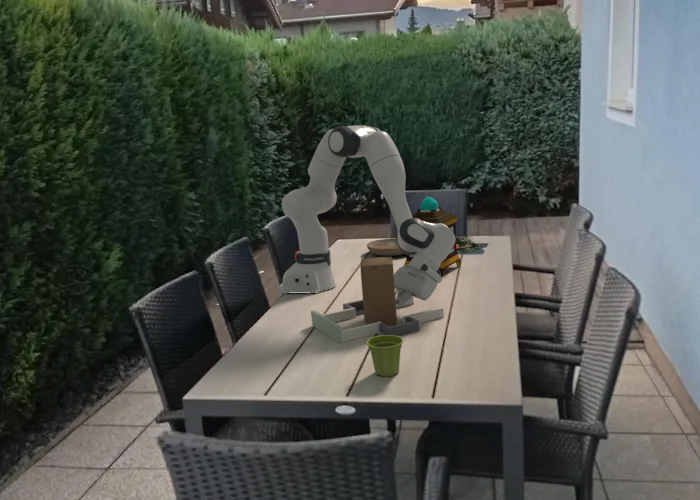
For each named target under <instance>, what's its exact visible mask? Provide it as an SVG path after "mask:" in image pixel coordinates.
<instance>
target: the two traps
mask: <svg viewBox="0 0 700 500" xmlns="http://www.w3.org/2000/svg"><path fill="white" fill-rule="evenodd" d="M342 308H343V309H342V310H345V309H350V308H356V317H358V316H361V315H364V308H363V299H359V300H355V301H351V302H347V303H342ZM405 321H406V323H404V322H403V323H399V324H397V325H395V326H388V325H386V324H385V323H383V322H382V323H379V330H380V333H379V334H381V335H394V336H399V337H401V336H404V335H407V334H411V333H415V332H419V331H420V323H419V321H417V320H415V319H413V318H411V317H409V316H408V317H405Z"/></svg>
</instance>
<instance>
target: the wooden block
mask: <svg viewBox="0 0 700 500" xmlns="http://www.w3.org/2000/svg"><path fill="white" fill-rule="evenodd" d="M394 274H395V273H394V262H393V256H380V257H367V258H361V259H360V278H361V279H360V280H361V291H362V292H361V293H362V300H363V308H364V314H363V318H364V319H363V320H364V325H368V324H372V323H376V322H380V321H381V322H383V323H385V324H386V325H388V326H395V325H398V321H397V308H396V302H395V298H396V289H395V287H394Z"/></svg>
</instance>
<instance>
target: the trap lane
mask: <svg viewBox="0 0 700 500" xmlns="http://www.w3.org/2000/svg"><path fill="white" fill-rule="evenodd" d="M395 299H396V297H395ZM414 304H415V301H414V296H412V297H411V298H410V299H409V300H407V301H406V302H405V303H404V304H403V306H401V305H399V304H396V309H397V308H398V309H399V308H402V307H407V306H412V305H414ZM444 313H445V312H444V307H435V308H432V309H427V310H424V311H419V312H415V313H411V314H407V315H403V316H402V317H403V318H402V319H403V320H402V321H403V323H406V321H405V317H408V316H409V317H411V318H413V319H415V320H417V321H419V324H421V323H425V322H426V323H427V322H429V321H433V320H438V319H441V318H442V319H443V318H444V317H445V315H444ZM310 314H311V325H313V326H314V328H315V327H316V328H317V330H318V329H319V330H320V332H321V333H323V334H324V335H326V336H327V337H329V338H330V339H332V340H333V341H334V342H336V343H338V344H339V343H342V342H347V341H351V340H355V339H356V340H357V339H359V338H363V337H367V336H372V335H376V334H381V333H380V330H379V323H382V322H381V321H380V322H376V323H372V324H368V325H365V324H364V325H359V326H356V327H350V328H347V329H343V330H342V328H341V325H340V324H339V323H337V322H341V321H340V320H342V321H345V320H350V319H353V318H354V319H355V318H357V316H356V308H350V309H345V310H343V309H342V310H337V311H333V312H328V313H324V314H321V313H320V312H318V311H316V310H315V309H313V310H311V311H310ZM336 321H337V322H336ZM313 326H312V327H313ZM316 328H315V329H316ZM319 330H318V331H319Z"/></svg>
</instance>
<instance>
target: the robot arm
mask: <svg viewBox="0 0 700 500" xmlns="http://www.w3.org/2000/svg"><path fill="white" fill-rule="evenodd" d="M363 157H364V159H366V162H367V165H368V167H369V169H370V172H371V174H372V177H373V179H374V181H375V183H376V184H377V186H378V188H379V190H380V191H381V194H382V195H383V197H384V199H385V201H386V203H387V204H388V207H389V209H390V214H391V216H392V218H393V221H394V224H395V227H396V238H397V246H398V248H399V249H400V251H401V252H403V253H404V255H406V254H407V255H415V256H414V257H413V259H412V260H411V262H410V263H409V264H406V265H405V266H404V265H403V266H401V267H399V268H398V269H397V270H396V271H395V273H394V287H395V290H397V294H396V296H395V298H396V299H395V302H396V304H399V305H401V306H403V304H404V303H405V302H406V301H407V300H409V299H410V298H411V297H412V296H413V298H417V299H418V300H421V301H427V300H428V299H430V297H431V296H432V294H433V293H434V291H435V290H436V289H437V287H438V284H441V282H442V280H443V278H442V277H441V275H440V273H438V271H439V270H438V269H439V266H440V264H441V262H442V261H443V260H445V259H446V257H447V256H448V254H449V253H450V251H451V249H452V248H453V246H454V243H455V234H454V233H453V231H452V230H451V229H450V228H449V227H448V226H446V225H445V224H442V223H438V224H435V223H429V222H425V221H422V220H420V219H417V218H412V211H411V210H410V207H409V204H408V201H407V198H406V182H407V181H406V180H407V177H406V170H405V166H404V162H403V159H402V157H401V155H400V152H399V149H398V148H397V146H396V144H395V143H394V141H393V139H392V137H391V136H390V135H389V133H387V132H386V131H382V130H381V129H380V128H378V127H375V126H373V125H364V124H363V125H361V124H356V125H341V126H337V127H335V128H332V129H331V128H330V129H329V130H328V131H326V133H325V134H324V135H323V137H322V139H320V142H319V144H318V145H317V148H316V150H315V152H314V154H313V156H312V158H311V160H310V163H309V165H308V168H307V173H308V175H309V177H310V179H309V183H308V185H306V186H305V187H301V188H297V189H293V190H292V191H290V192H288V193H287V194H285V195H284V196H283V197H282V200H281V208H282V212H283V214H284V215H285V216H286V217H287V218H289V219H290V220H291V222H292V223H293V226H294V227H295V230H296V232H297V239H298V245H299V251H296V252H295V254H294V261H295V263H293V264H292V265H291V266H290V267H289V268H288V269H287V270H286V271H285V272H284V274H283V277H282V283H281V284H280V285H278V286H277V293H278V294H282V295H286V294H287V293H289V292H310V293H316V292H319V293H321V292H320V291H322V292H324V291H323V290H325V291H329V290H331V288H332V289H334V288H336V286H337V284H336V283H337V282H336V281H335V279H334V275H333V271H332V266H331V265H332V255H331V250H330V249H329V239H328V231H327V229H326V228H325V227H324V226H323V225H322V224H321V223H320V221H319V218H318V215H321V214H323V213H326V212H328V211H330V210H331V209H332V208H333V207H335V205H336V204H337V200H338V199H337V197H338V195H337V193H336V190H335V186H336V182H337V179H338V177H339V175H340V172H341V171H342V168H343V165H344V163H345V161H346V159H347V158H352V159H355V158H363ZM335 285H336V286H335ZM333 287H334V288H333ZM328 289H329V290H328ZM316 294H317V293H316ZM287 295H288V294H287ZM403 307H404V306H403Z"/></svg>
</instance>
